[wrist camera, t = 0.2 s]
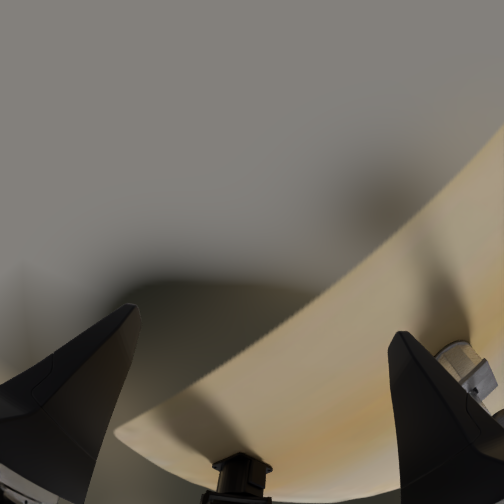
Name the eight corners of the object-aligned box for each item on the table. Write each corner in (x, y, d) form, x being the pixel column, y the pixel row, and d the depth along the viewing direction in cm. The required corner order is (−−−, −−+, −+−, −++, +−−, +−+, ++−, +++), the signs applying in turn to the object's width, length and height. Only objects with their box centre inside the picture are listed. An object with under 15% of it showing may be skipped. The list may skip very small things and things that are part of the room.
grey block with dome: (442, 398, 28) (459, 427, 23) (417, 370, 27) (437, 403, 21) (480, 363, 27) (501, 390, 21) (461, 330, 25) (488, 358, 20)
